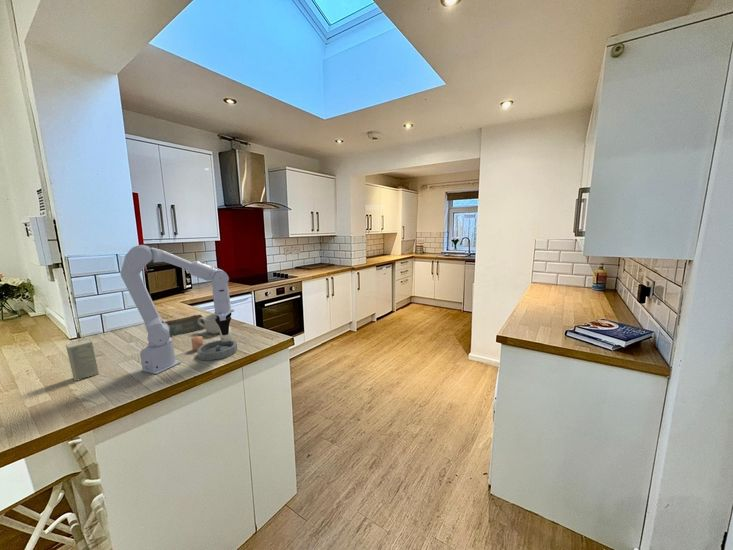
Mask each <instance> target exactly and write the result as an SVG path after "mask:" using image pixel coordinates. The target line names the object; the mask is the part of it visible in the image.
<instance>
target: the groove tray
mask: <svg viewBox="0 0 733 550" xmlns="http://www.w3.org/2000/svg"><path fill="white" fill-rule="evenodd" d="M236 351H237V352H238V342H237V341H236V340H234V339H232V340H231V341H228V342H221V339H217V340H213V341H209V342H206V343H203V345H202V346H200V347H199V348H198V350H197V351H196V353H197V356H198V359H199V360H202V361H205V360H211V361H216V360H215V359H218V360H221V359H220V358H223V359H225V358H224V357H226V358H228V357H227V356H229V355H231V354H233V353H234V354H236V353H237V352H236ZM235 352H236V353H235ZM234 354H233V355H234ZM231 356H232V355H231ZM229 357H230V356H229Z"/></svg>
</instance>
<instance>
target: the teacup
mask: <svg viewBox="0 0 733 550" xmlns="http://www.w3.org/2000/svg"><path fill="white" fill-rule="evenodd" d="M215 318H217V317H216V315H215V313H211V314H208V315H205V316H202V317H201V318H199V319H198V321H197V322H198V324H199V325H200V326H202V327H204V328H205V329H204V330H205V331H206V332H207V333H210V334H212V335H217V334H218V333H219V334H220V327H219V325H218V324H217V323H216V321H215ZM201 319H202V320H203V321H204V324H205V325H203V324H202V323H201V322H200V320H201Z"/></svg>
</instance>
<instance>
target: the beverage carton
mask: <svg viewBox="0 0 733 550" xmlns="http://www.w3.org/2000/svg"><path fill="white" fill-rule="evenodd" d="M201 317H203V315H202V314H195V315H191V316H186V317H183V318H177V319H172V320H167V321H164V322H165V323H167V324H168V325H169V327H170V331H169V333H170V337H174V336H178V334H179V335H183V334H188V333H190V332H191V331H192V332H194V331H200V330H206V329H205V328H204V327H202V326H200V325H199V324H198V322H197V321H198V319H199V318H201ZM200 322H201V323H202V324H203V325H205V324H204V321H203V320H202V319H201V320H200ZM182 333H183V334H182ZM173 335H174V336H173Z"/></svg>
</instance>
